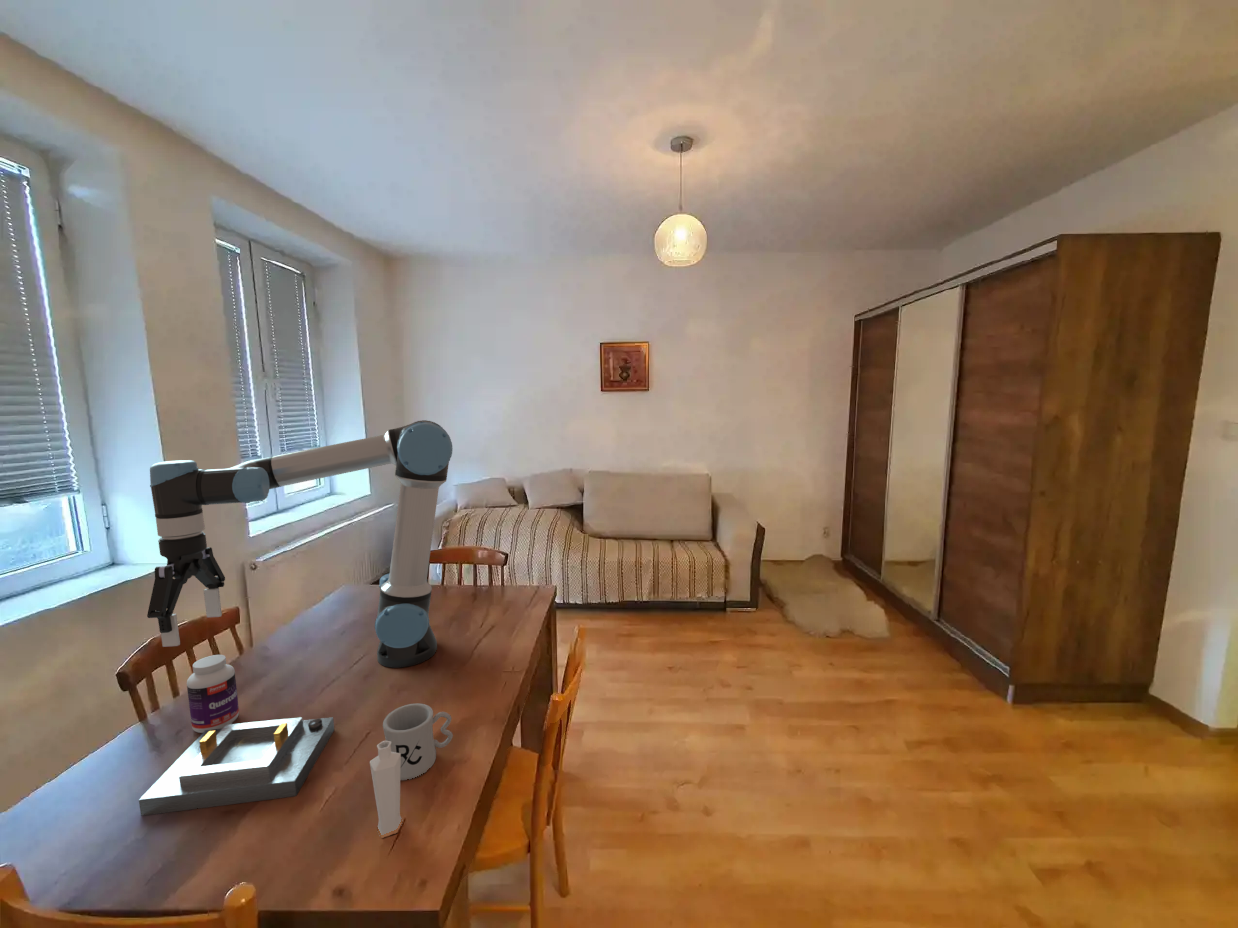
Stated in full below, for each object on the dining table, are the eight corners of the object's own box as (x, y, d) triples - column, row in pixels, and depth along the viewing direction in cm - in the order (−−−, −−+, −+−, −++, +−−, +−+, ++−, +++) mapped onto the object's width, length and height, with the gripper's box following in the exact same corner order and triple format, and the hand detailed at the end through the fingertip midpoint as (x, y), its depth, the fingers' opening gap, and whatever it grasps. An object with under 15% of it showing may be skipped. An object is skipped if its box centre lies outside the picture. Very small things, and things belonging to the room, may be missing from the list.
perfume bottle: (380, 817, 85) (374, 735, 83) (407, 815, 85) (401, 734, 83) (369, 841, 81) (362, 755, 79) (397, 839, 81) (391, 754, 79)
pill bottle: (213, 738, 105) (205, 673, 103) (182, 732, 106) (173, 669, 104) (249, 713, 113) (242, 653, 111) (219, 709, 114) (212, 649, 112)
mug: (386, 789, 91) (383, 738, 90) (384, 757, 99) (380, 710, 98) (457, 766, 97) (455, 718, 95) (449, 737, 105) (447, 693, 103)
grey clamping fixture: (334, 730, 107) (331, 697, 106) (296, 795, 90) (292, 757, 89) (207, 743, 103) (202, 709, 102) (141, 815, 86) (135, 775, 84)
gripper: (201, 520, 117) (212, 607, 120) (111, 553, 93) (128, 661, 96) (237, 519, 119) (246, 605, 122) (157, 551, 94) (172, 658, 97)
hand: (194, 630), depth 109 cm, fingers open, 13 cm apart
